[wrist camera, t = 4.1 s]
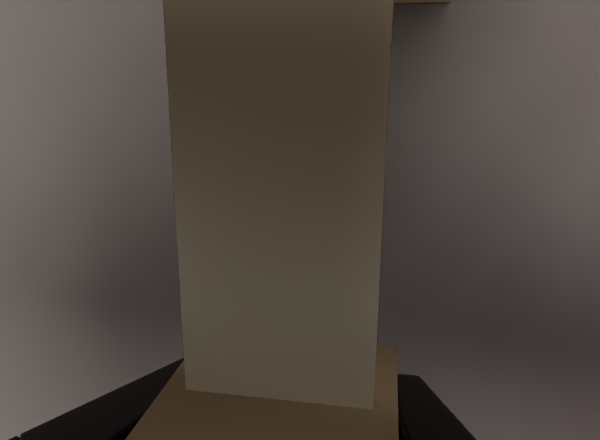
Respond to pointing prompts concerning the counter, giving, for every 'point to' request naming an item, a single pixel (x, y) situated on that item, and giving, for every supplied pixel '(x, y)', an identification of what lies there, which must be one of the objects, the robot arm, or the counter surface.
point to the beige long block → (278, 221)
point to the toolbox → (420, 1)
